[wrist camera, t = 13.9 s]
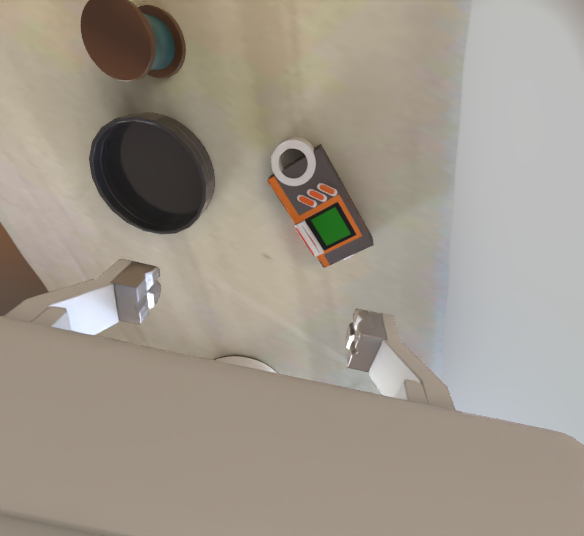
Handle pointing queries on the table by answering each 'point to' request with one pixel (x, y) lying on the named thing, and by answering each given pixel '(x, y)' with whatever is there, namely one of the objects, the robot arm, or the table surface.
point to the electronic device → (318, 203)
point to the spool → (132, 39)
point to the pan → (152, 172)
